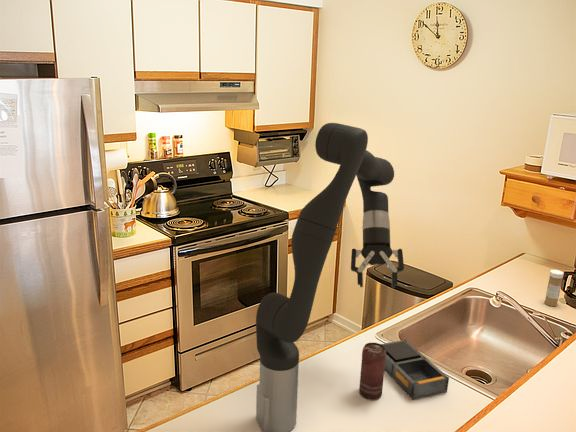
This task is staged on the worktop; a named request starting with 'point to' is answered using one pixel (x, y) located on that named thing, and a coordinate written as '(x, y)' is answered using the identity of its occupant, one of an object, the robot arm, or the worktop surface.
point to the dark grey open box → (413, 371)
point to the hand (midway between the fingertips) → (377, 287)
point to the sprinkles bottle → (554, 287)
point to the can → (372, 371)
